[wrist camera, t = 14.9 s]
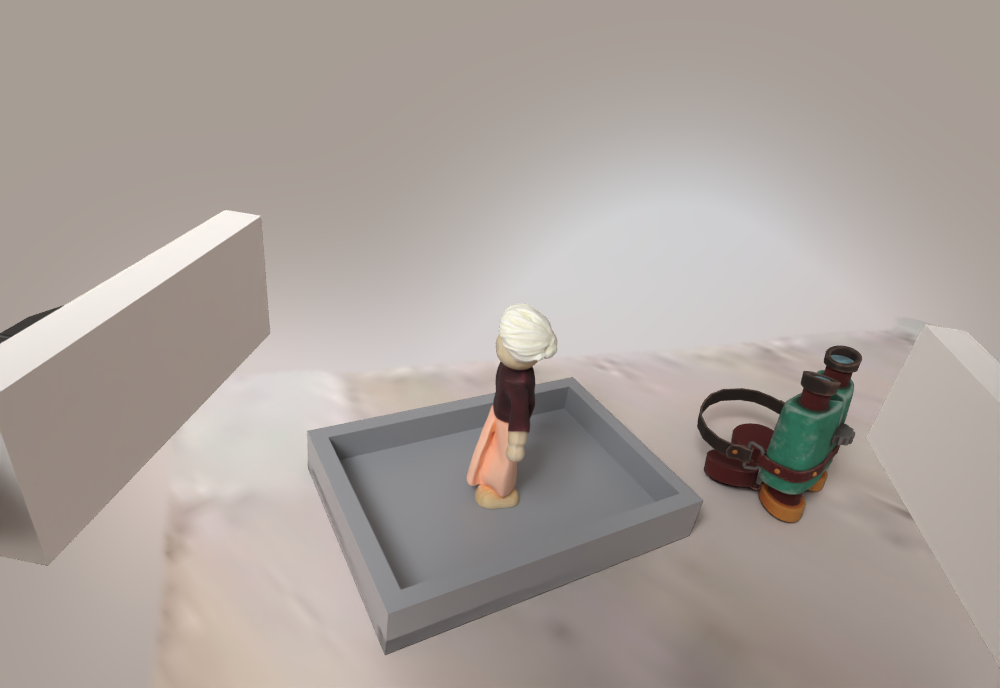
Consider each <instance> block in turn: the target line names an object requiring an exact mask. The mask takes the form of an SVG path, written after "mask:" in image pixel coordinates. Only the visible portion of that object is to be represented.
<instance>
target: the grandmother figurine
mask: <svg viewBox="0 0 1000 688" xmlns="http://www.w3.org/2000/svg"><path fill="white" fill-rule="evenodd" d="M500 323H501V324H500V329H499V333H500V334H499V336H498V338H497V341H496V352H497V356H498V358H499V359H500V361H501V362H500V364H499V366H498V370H497V374H496V393H495V396H494V400H493V405H492V407H491V409H490V412H489V415H488V418H487V420H486V422H485V424H484V427H483V429H482V432H481V435H480V438H479V440H478V443H477V445H476V448H475V450H474V453H473V456H472V460H471V463H470V466H469V470H468V474H467V482H468V484H469V485H471V486H475V485H477V484H480V485H479V486H478V488H477V489H476V491H475V500H476V502H477V503H478V504H479V505H480V506H481V507H484V508H486V509H499V508H509V507H514V506H516V505H517V504H518V503H519V494H518V492H517V490H516V489H515V488H514V487H515V484H516V478H517V462H520V461H522V459H523V458H524V455H525V451H524V446H525V444H526V442H527V436H528V433H529V431H530V418H531V416H532V413H533V410H534V407H535V375H534V370H533V367H532V366H533V365H535V364H536V363H537V362H538V361H540V360H542V359H543V358H545V359H547V358H551V357H552V356H553V355H555V353H556V352H557V338H556V336H555V334H554V332H553V330H552V328H551V325H550V322H549V320H548V319H547V318H546V317H545V316H544V315H543V314H541V313H540V312H539V311H537V310H536V309H534V308H533V307H531V306H529V305H527V304H516V305H512V306H509V307H507V308H506V310H505V311H504V313H503V316H502V319H501V322H500Z"/></svg>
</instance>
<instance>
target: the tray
mask: <svg viewBox="0 0 1000 688" xmlns="http://www.w3.org/2000/svg"><path fill="white" fill-rule="evenodd" d="M494 396H495V393H492V394H487V395H482V396H477V397H472V398H468V399H463V400H458V401H453V402H448V403H443V404H438V405H433V406H428V407H423V408H418V409H413V410H408V411H403V412H399V413H394V414H389V415H384V416H379V417H374V418H369V419H364V420H359V421H354V422H349V423H344V424H339V425H335V426H330V427H325V428H320V429H315V430H310V431H307V435H308V469H309V472H310V474H311V476H312V479H313V481H314V484H315V486H316V489H317V491H318V493H319V496H320V498H321V501H322V503H323V506H324V508H325V510H326V513H327V515H328V518H329V520H330V523H331V525H332V527H333V530H334V532H335V535H336V537H337V540H338V542H339V544H340V547H341V549H342V552H343V554H344V557H345V559H346V561H347V564H348V566H349V569H350V571H351V574H352V576H353V578H354V581H355V583H356V586H357V588H358V590H359V593H360V595H361V598H362V600H363V603H364V605H365V607H366V610H367V612H368V615H369V617H370V620H371V622H372V624H373V627H374V629H375V632H376V634H377V637H378V639H379V641H380V644H381V646H382V649H383V651H384V654H385V655H386V654H389V653H391V652H394V651H396V650H399V649H402V648H404V647H407V646H409V645H412V644H414V643H417V642H419V641H422V640H425V639H427V638H430V637H432V636H435V635H437V634H440V633H442V632H445V631H447V630H450V629H453V628H455V627H458V626H460V625H463V624H465V623H468V622H470V621H473V620H476V619H478V618H481V617H483V616H486V615H488V614H491V613H493V612H496V611H498V610H501V609H504V608H506V607H509V606H511V605H514V604H516V603H519V602H521V601H524V600H526V599H529V598H532V597H534V596H537V595H539V594H542V593H544V592H547V591H549V590H552V589H555V588H557V587H560V586H562V585H565V584H567V583H570V582H572V581H575V580H577V579H580V578H583V577H585V576H588V575H590V574H593V573H595V572H598V571H600V570H603V569H605V568H608V567H611V566H613V565H616V564H618V563H621V562H623V561H626V560H628V559H631V558H634V557H636V556H639V555H641V554H644V553H646V552H649V551H651V550H654V549H656V548H659V547H662V546H664V545H667V544H669V543H672V542H674V541H677V540H679V539H682V538H685V537H687V536H689V535H690V533H691V530H692V528H693V525H694V523H695V520H696V518H697V515H698V513H699V510H700V507H701V505H702V502H703V499H701V498H700V497H699V496H698V495H697V494H696V493H695V492H694V491H693V490H692V489H691V488H690V487H689V486H688V485H687V484H686V483H684V482H683V481H682V480H681V479H680V478H679V477H678V476H677V475H676V474H675V473H674V472H673V471H672V470H671V469H670V468H669V467H667V466H666V465H665V464H664V463H663V462H662V461H661V460H660V459H659V458H658V457H657V456H656V455H655V454H654V453H653V452H652V451H650V450H649V449H648V448H647V447H646V446H645V445H644V444H643V443H642V442H641V441H640V440H639V439H638V438H637V437H636V436H635V435H634V434H632V433H631V432H630V431H629V430H628V429H627V428H626V427H625V426H624V425H623V424H622V423H621V422H620V421H619V420H618V419H617V418H615V417H614V416H613V415H612V414H611V413H610V412H609V411H608V410H607V409H606V408H605V407H604V406H603V405H602V404H601V403H600V402H598V401H597V400H596V399H595V398H594V397H593V396H592V395H591V394H590V393H589V392H588V391H587V390H586V389H585V388H584V387H583V386H581V385H580V384H579V383H578V382H577V381H576V380H575V379H574V378H573V377H571V378H566V379H561V380H556V381H551V382H546V383H541V384H536V385H535V407H534V410H533V413H532V416H531V418H530V431H529V433H528V436H527V442H526V444H525V446H524V451H525V455H524V458H523V459H522V461H520V462H517V478H516V484H515V487H514V488H515V489H516V490H517V492H518V494H519V503H518V504H517V505H516V506H514V507H509V508H499V509H486V508H484V507H481V506H480V505H479V504H478V503H477V502H476V500H475V491H476V489H477V488H478V486H479V485H480V484H477V485H475V486H471V485H469V484H468V482H467V474H468V470H469V466H470V463H471V460H472V456H473V453H474V450H475V448H476V445H477V443H478V440H479V438H480V435H481V432H482V429H483V427H484V424H485V422H486V420H487V418H488V415H489V412H490V409H491V407H492V405H493V400H494Z"/></svg>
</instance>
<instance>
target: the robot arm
mask: <svg viewBox="0 0 1000 688" xmlns="http://www.w3.org/2000/svg"><path fill="white" fill-rule="evenodd" d="M267 299H268V298H267V285H266V272H265V259H264V247H263V233H262V220H261V216H258V215H252V214H246V213H240V212H233V211H228V210H225V211H223V212H221V213H219V214H218V215H216V216H214V217H213V218H211V219H209V220H208V221H206V222H204V223H203V224H201V225H199V226H198V227H196V228H194V229H193V230H191V231H189V232H187V233H186V234H184V235H183V236H181V237H179V238H177V239H176V240H174V241H172V242H171V243H169V244H167V245H166V246H164V247H162V248H160V249H159V250H157V251H155V252H154V253H152V254H150V255H149V256H147V257H145V258H144V259H142V260H140V261H139V262H137V263H135V264H134V265H132V266H130V267H129V268H127V269H125V270H123V271H122V272H120V273H118V274H117V275H115V276H113V277H112V278H110V279H108V280H107V281H105V282H103V283H102V284H100V285H98V286H97V287H95V288H93V289H91V290H90V291H88V292H87V293H85V294H83V295H81V296H80V297H78V298H76V299H75V300H73V301H71V302H70V303H68V304H66V305H63V306H60V307H57V308H54V309H52V310H49V311H45V312H42V313H39V314H36V315H33V316H31V317H28V318H26V319H24V320H23V321H21V322H19V323H17V324H16V325H14V326H13V327H11V328H9V329H7V330H5V331H3V332H2V333H0V556H2V557H7V558H12V559H17V560H21V561H27V562H31V563H36V564H41V565H46V566H48V565H49V564H50V563H51V562H52V561H53V560H54V559H55V558H56V557H57V556H58V555H59V554H60V553H61V552H62V551H63V550H64V549H65V548H66V546H67V545H68V544H69V543H70V542H71V541H72V540H73V539H74V538H75V537H76V536H77V535H78V534H79V533H80V532H81V531H82V530H83V528H85V527H86V525H88V523H89V522H90V521H91V520H92V519H93V518H94V517H95V516H96V515H97V514H98V513H99V512H100V511H101V510H102V509H103V508H104V507H105V506H106V504H108V503H109V501H110V500H111V499H112V498H113V497H114V496H115V495H116V494H117V493H118V492H119V491H120V490H121V489H122V488H123V487H124V486H125V485H126V484H127V483H128V482H129V480H131V479H132V477H133V476H134V475H135V474H136V473H137V472H138V471H139V470H140V469H141V468H142V467H143V466H144V465H145V464H146V463H147V462H148V461H149V460H150V459H151V458H152V457H153V456H154V454H155V453H156V452H157V451H158V450H159V449H160V448H161V447H162V446H163V445H164V444H165V443H166V442H167V441H168V440H169V439H170V438H171V437H172V436H173V435H174V434H175V433H176V431H177V430H178V429H179V428H180V427H181V426H182V425H183V424H184V423H185V422H186V421H187V420H188V419H189V418H190V417H191V416H192V415H193V414H194V413H195V412H196V411H197V410H198V408H199V407H200V406H201V405H202V404H203V403H204V402H205V401H206V400H207V399H208V398H209V397H210V396H211V395H212V394H213V393H214V392H215V391H216V390H217V389H218V388H219V386H220V385H221V384H222V383H223V382H224V381H225V380H226V379H227V378H228V377H229V376H230V375H231V374H232V373H233V372H234V371H235V370H236V368H237V367H239V365H240V364H241V363H242V362H243V361H244V360H245V359H246V358H247V357H248V356H249V355H250V354H251V353H252V352H253V351H254V350H255V349H256V348H257V347H258V346H259V345H260V344H261V342H262V341H263V340H264V339H265V338H266V337H267V336H268V335H269V334H270V325H269V312H268V300H267ZM866 439H867V441H868V442H869V444H870V446H871V448H872V449H873V451H874V453H875V454H876V456H877V458H878V460H879V461H880V463H881V465H882V466H883V468H884V470H885V472H886V473H887V475H888V477H889V479H890V480H891V482H892V484H893V485H894V487H895V489H896V491H897V492H898V494H899V496H900V497H901V499H902V501H903V503H904V504H905V506H906V508H907V509H908V511H909V513H910V515H911V516H912V518H913V520H914V522H915V523H916V525H917V527H918V528H919V530H920V532H921V534H922V535H923V537H924V539H925V540H926V542H927V544H928V546H929V547H930V549H931V551H932V553H933V554H934V556H935V558H936V559H937V561H938V563H939V565H940V566H941V568H942V570H943V571H944V573H945V575H946V577H947V578H948V580H949V582H950V583H951V585H952V587H953V589H954V590H955V592H956V594H957V596H958V597H959V599H960V601H961V602H962V604H963V606H964V608H965V609H966V611H967V613H968V614H969V616H970V618H971V620H972V621H973V623H974V625H975V626H976V628H977V630H978V632H979V633H980V635H981V637H982V639H983V640H984V642H985V644H986V645H987V647H988V649H989V651H990V652H991V654H992V656H993V657H994V659H995V661H996V663H997V664H998V666H999V668H1000V363H999V362H998V361H997V360H996V359H995V358H994V357H993V356H992V355H991V354H990V353H989V352H988V351H987V350H986V349H985V348H983V347H982V346H981V345H980V344H979V343H978V342H977V341H976V340H975V339H974V338H973V337H972V336H971V335H970V334H969V333H968V332H967V331H963V330H956V329H951V328H945V327H939V326H933V325H926V324H924V326H923V328H922V330H921V332H920V334H919V336H918V338H917V340H916V342H915V344H914V346H913V348H912V349H911V351H910V353H909V355H908V357H907V359H906V361H905V363H904V365H903V367H902V369H901V371H900V373H899V375H898V377H897V379H896V381H895V382H894V384H893V386H892V388H891V390H890V392H889V394H888V396H887V398H886V400H885V402H884V404H883V406H882V408H881V410H880V412H879V413H878V415H877V417H876V419H875V421H874V423H873V425H872V427H871V429H870V431H869V433H868V435H867V437H866Z"/></svg>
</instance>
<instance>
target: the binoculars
mask: <svg viewBox="0 0 1000 688" xmlns="http://www.w3.org/2000/svg"><path fill="white" fill-rule="evenodd" d="M861 361H862V356H861V354H860V353H859V352H858V351H857V350H855V349H853V348H850V347H847V346H833V347H831V348H829V349H828V350H827V351H826V354H825V358H824V363H825V365H827V366H826V369H825V370H821V371H818V372H817V373H815V372H810V371H803V376H802V380H801V385H802V386H803V392H802V393H801V394H798V395H797V396H795V397H793V398H791V399H790V400H788V401H786V403H785V402H783V401H782V400H780V401H779V400H778V399H776V398H774V397H772V396H770V395H767V394H765V393H762V392H759V391H756V390H750V389H743V388H740V389H722V390H719V391H717V392H714V393H712V394H710V395H709V396H708V397H707V398H706V399H705V400H704V402H703V404H702V406H701V409H700V413H699V417H698V425H697V427H698V429H699V431H700V433H701V436H702V438H703V439H704V440H705V441H706V442H707V443H708V444H709V445H710V446H712V447H713V448H714V449H715V450H711V451H709V452H708V453H707V458H706V462H705V467H704V471H705V472H706V474H707V475H709V476H710V477H711V478H713V479H715V480H717V481H720V482H722V483H726V484H729V485H734V486H741V487H750V488H752V489H755V490H759V489H760V491H759V497H760V500H761V502H762V504H763V505H764V507H765V508H766V509H767V510H768V511H769V512H770V513H771V514H772V515H773V516H775V517H776V518H778V519H780V520H783V521H786V522H797V521H798V520H799V519H800V518H801V515H802V513H803V510H804V508H805V500H804V498H803V496H802V494H803V492H804V491H806V490H810V491H820V490H821V489H822V488H823V486H824V483H825V481H826V478H827V472H826V469H827V468H828V467H829V465H830V464H831V462H832V459H833V457H834V456H835V455H836V454H837V452H838V450H839V447H840V445H848V444H851V443H852V441H853V438H854V436H855V432H853V429H852V428H850V427H849V426H848V425H847V424H844V422H845V419H846V416H847V412H848V409H849V406H850V402H851V399H852V396H853V391H854V383H853V381H852V380H851V376H852V373H853V372H856V371H857V370H858V368H859V365H860V363H861ZM727 400H744V401H750V402H755V403H757V404H760V405H763V406H765V407H767V408H769V409H771V410H773V411H775V412H776V413H778V414H780V416H779V419H778V422H777V424H776V427H775V430H774V431H773V430H772V429H770V428H768V427H766V426H763V425H759V424H750V423H749V424H742V425H739V426H737V427H736V428H735V429H734V430H733V434H732V442H731V443H730V442H728V441H726V440H724V439H722V438H720V437H718V436H717V435H716V434H715V433H714V432H713V431H711V430H710V429H709V428H708V427H707V425H706V423H705V421H704V419H703V417H702V413H703V412H704V411H705V410H706V409H707V408H708V407H709V406H710V405H712V404H715V403H717V402H719V401H727ZM754 461H757V464H756V463H755V462H754ZM761 466H762V468H761ZM760 468H761V472H760V479H761V480H762V481H763V482H762V483H761V485H758V484H756V479H757V475H758V471H759V469H760Z"/></svg>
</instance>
